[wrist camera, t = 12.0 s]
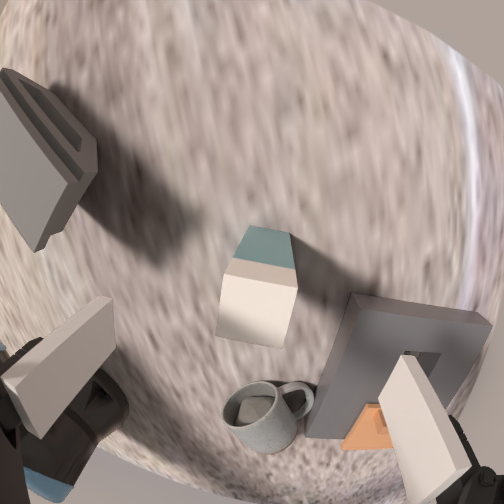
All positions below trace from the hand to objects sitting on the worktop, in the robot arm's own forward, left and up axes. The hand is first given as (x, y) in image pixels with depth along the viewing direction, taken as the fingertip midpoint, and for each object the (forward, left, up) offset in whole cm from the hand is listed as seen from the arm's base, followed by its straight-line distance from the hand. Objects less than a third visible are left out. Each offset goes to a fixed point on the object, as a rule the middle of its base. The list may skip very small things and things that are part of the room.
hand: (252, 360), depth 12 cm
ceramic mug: (-20, -4, -19) cm, 28 cm away
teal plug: (0, 0, -18) cm, 18 cm away
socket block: (-13, -20, -18) cm, 30 cm away
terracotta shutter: (-20, -20, -14) cm, 31 cm away
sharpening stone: (+9, +28, -19) cm, 35 cm away
